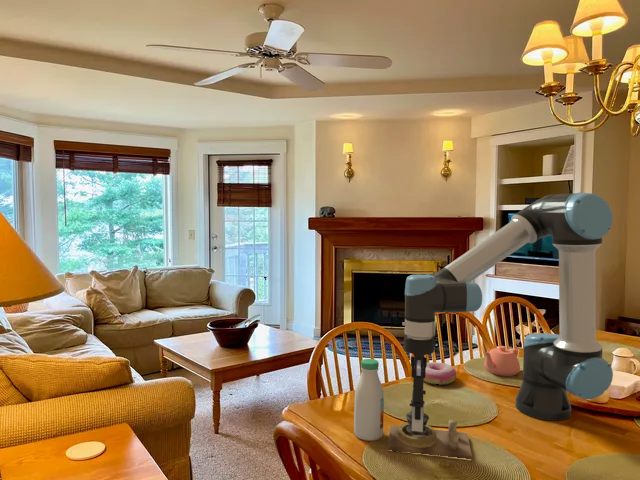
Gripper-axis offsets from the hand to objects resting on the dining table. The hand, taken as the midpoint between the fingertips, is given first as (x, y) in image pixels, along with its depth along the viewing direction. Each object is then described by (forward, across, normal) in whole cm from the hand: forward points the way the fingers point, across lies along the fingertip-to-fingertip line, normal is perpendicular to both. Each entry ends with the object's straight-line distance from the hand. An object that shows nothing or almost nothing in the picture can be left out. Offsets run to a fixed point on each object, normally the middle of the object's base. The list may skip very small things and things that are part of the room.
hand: (417, 424), depth 121 cm
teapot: (+5, -62, +30) cm, 69 cm away
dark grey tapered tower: (+2, 0, 0) cm, 2 cm away
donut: (+5, -48, +6) cm, 49 cm away
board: (+5, 0, +3) cm, 6 cm away
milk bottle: (+5, -2, -13) cm, 14 cm away
